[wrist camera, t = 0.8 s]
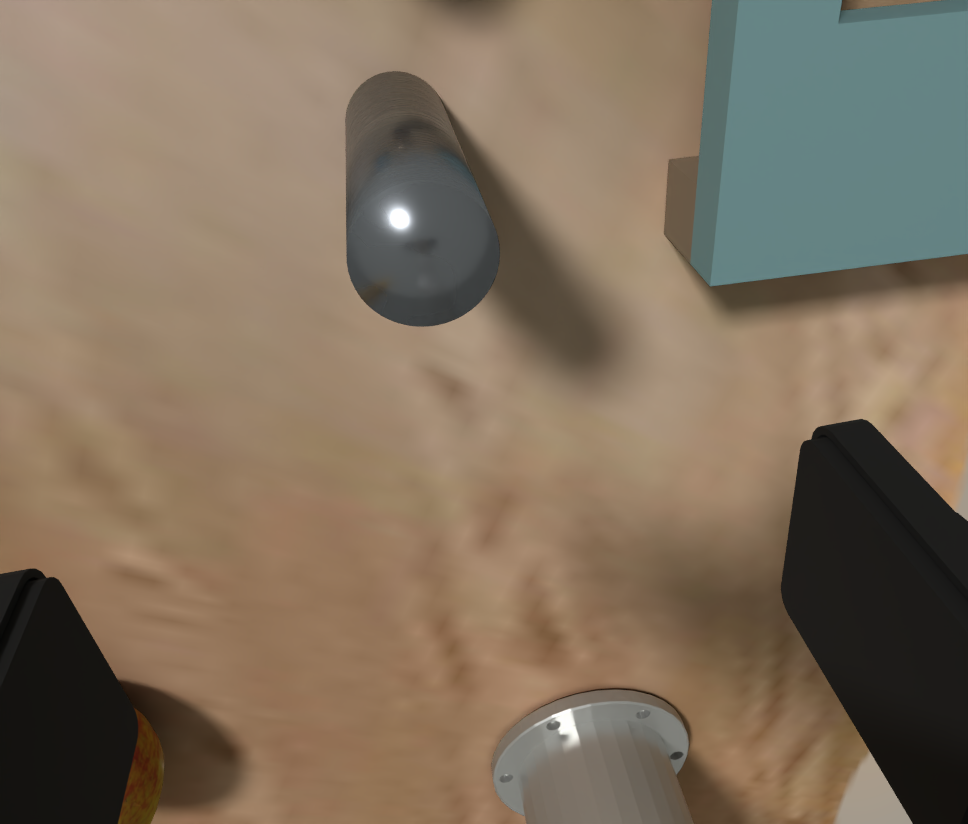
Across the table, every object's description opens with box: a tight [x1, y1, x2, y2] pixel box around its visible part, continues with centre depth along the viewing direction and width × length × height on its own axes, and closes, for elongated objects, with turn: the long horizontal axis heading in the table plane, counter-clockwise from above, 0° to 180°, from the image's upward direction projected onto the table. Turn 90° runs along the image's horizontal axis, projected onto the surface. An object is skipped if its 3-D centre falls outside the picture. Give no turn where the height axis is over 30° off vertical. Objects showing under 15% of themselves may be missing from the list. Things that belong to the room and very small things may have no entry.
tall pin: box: [345, 71, 500, 326], centre depth 24 cm, size 4×4×12 cm
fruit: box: [118, 708, 165, 824], centre depth 40 cm, size 10×9×8 cm
